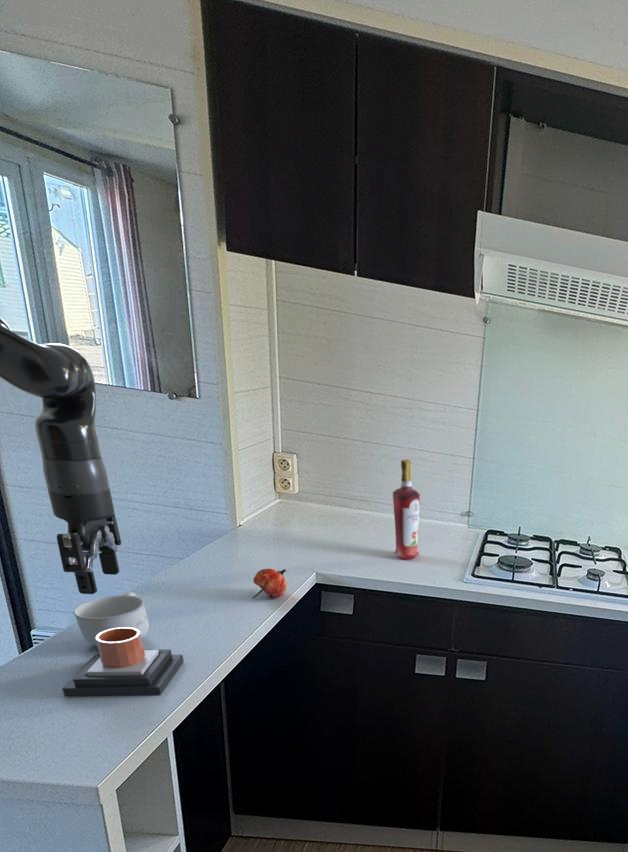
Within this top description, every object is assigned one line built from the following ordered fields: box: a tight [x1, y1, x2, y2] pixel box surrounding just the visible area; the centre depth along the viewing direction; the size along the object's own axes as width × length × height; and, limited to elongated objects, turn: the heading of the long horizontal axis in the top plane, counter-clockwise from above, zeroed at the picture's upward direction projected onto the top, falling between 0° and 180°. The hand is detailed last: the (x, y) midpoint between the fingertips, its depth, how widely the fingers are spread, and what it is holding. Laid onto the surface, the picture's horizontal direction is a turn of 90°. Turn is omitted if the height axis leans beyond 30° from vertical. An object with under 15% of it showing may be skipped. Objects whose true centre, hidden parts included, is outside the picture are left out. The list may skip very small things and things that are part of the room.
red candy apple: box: [251, 568, 288, 600], centre depth 147 cm, size 7×7×10 cm
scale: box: [62, 648, 184, 697], centre depth 111 cm, size 14×12×3 cm
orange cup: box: [96, 627, 145, 668], centre depth 109 cm, size 6×6×5 cm
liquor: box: [392, 459, 421, 561], centre depth 178 cm, size 7×7×28 cm
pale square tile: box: [87, 650, 159, 676], centre depth 110 cm, size 8×8×2 cm
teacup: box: [73, 591, 150, 647], centre depth 121 cm, size 14×11×8 cm
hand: (100, 583), depth 103 cm, fingers open, 8 cm apart
